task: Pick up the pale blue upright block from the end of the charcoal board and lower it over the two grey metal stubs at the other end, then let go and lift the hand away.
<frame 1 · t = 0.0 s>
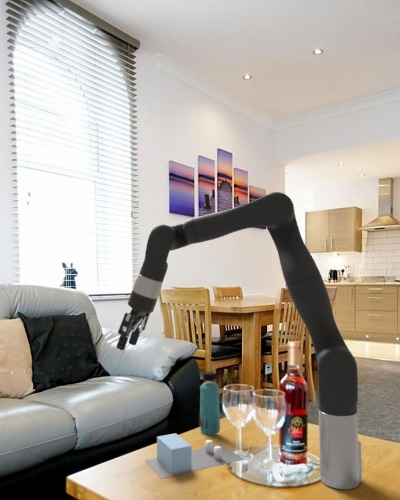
hand: (126, 346, 123), 31 cm above the table, fingers open, 8 cm apart
stub board: (194, 465, 118), on the table
beverage bottle: (210, 436, 139), on the table
pale blue upright block: (173, 464, 115), point 1 cm above the table, touching stub board
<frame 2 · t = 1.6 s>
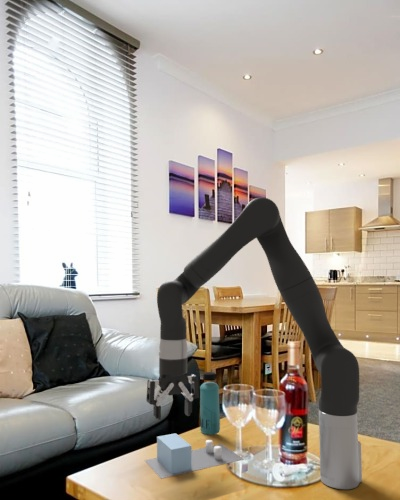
hand: (173, 417, 116), 14 cm above the table, fingers open, 8 cm apart
nothing on the table moved.
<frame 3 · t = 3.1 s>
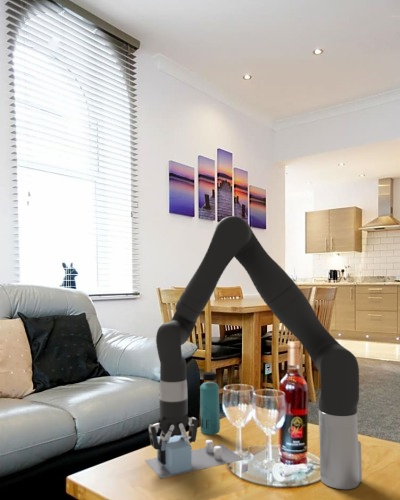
hand: (173, 461, 115), 2 cm above the table, fingers closed on pale blue upright block, 5 cm apart
pale blue upright block: (173, 464, 115), point 1 cm above the table, touching gripper, stub board
everything else where it was.
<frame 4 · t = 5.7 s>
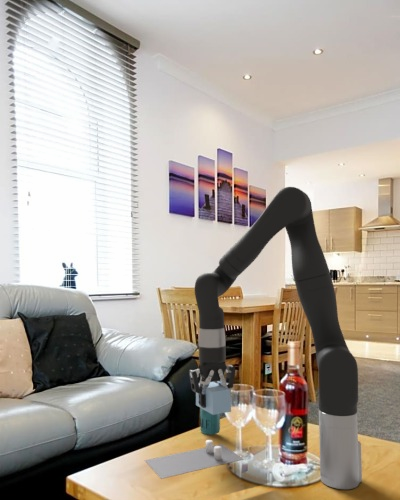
hand: (213, 405, 121), 15 cm above the table, fingers closed on pale blue upright block, 5 cm apart
pale blue upright block: (213, 408, 121), point 14 cm above the table, touching gripper
everything else where it was.
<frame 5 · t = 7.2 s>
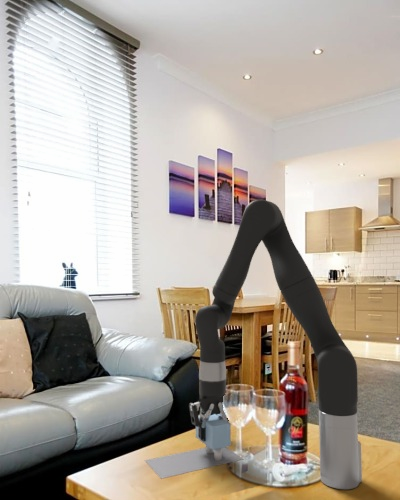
hand: (212, 438, 121), 6 cm above the table, fingers closed on pale blue upright block, 5 cm apart
pale blue upright block: (212, 441, 121), point 5 cm above the table, touching gripper
everything else where it was.
when the fingers open (3 cm above the table, at t = 8.3 s): pale blue upright block stays where it is, resting on stub board.
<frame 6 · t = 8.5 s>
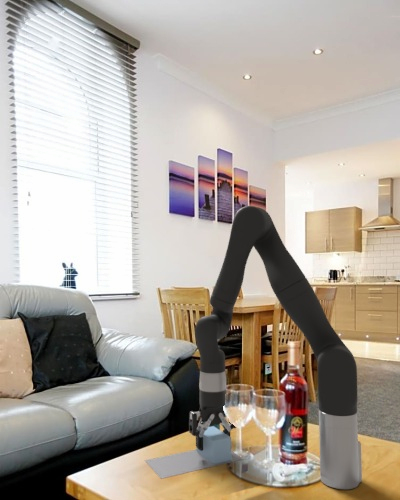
hand: (213, 447, 121), 4 cm above the table, fingers open, 7 cm apart
pale blue upright block: (213, 455, 121), point 1 cm above the table, touching stub board
everything else where it was.
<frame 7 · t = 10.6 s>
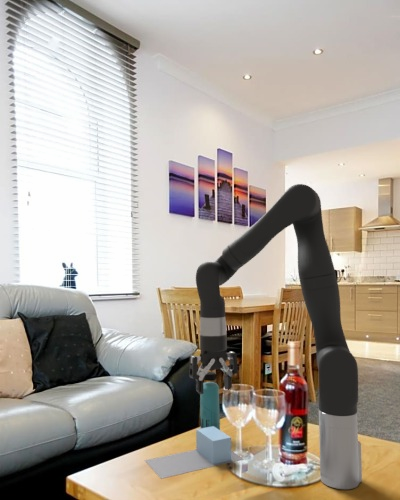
hand: (214, 391, 122), 19 cm above the table, fingers open, 8 cm apart
nothing on the table moved.
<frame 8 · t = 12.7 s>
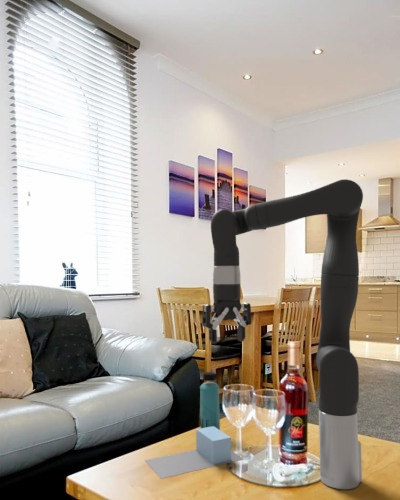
hand: (227, 342, 119), 33 cm above the table, fingers open, 8 cm apart
nothing on the table moved.
at the end: pale blue upright block 0.0 cm from the target spot on the stub board, point 1.5 cm above the stub board's base; pale blue upright block tilted 0°; the gripper is holding nothing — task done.
